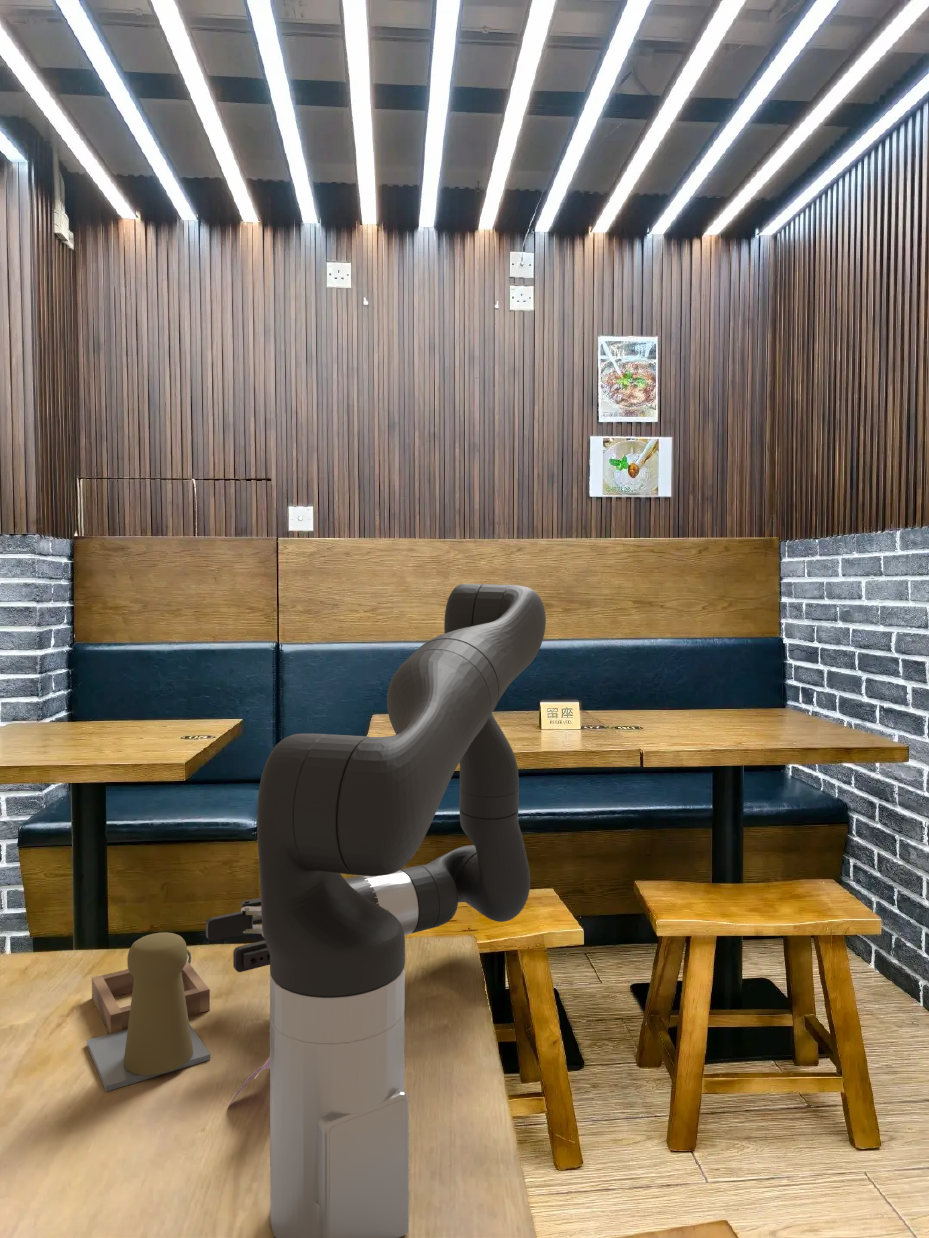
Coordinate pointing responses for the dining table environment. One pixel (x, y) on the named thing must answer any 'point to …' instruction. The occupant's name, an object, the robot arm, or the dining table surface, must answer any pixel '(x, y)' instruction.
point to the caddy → (123, 984)
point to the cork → (157, 1006)
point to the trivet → (111, 1058)
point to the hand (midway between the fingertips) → (220, 944)
